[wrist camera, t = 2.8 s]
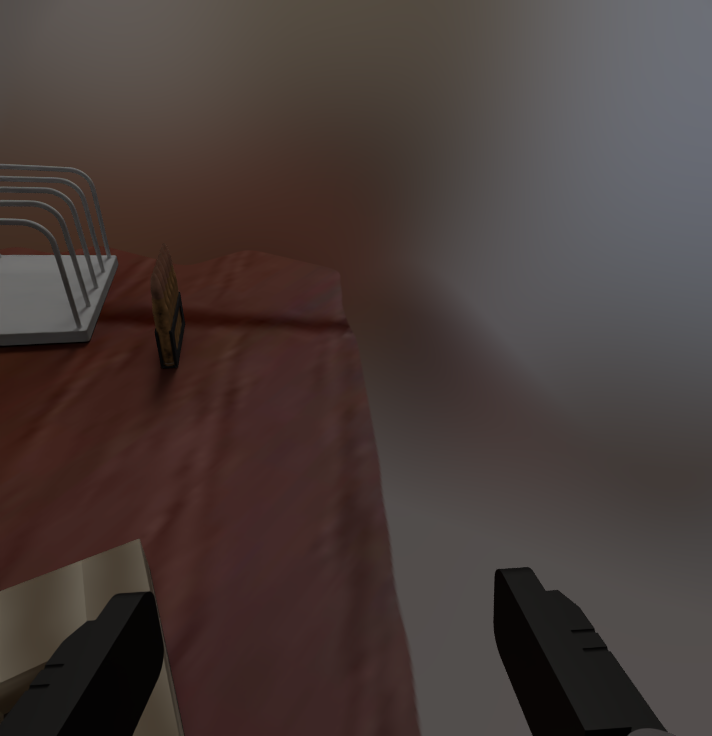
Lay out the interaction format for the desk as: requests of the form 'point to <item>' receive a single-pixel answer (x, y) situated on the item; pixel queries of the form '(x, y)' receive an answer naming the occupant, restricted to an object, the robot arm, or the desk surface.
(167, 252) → the ammunition clip
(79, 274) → the file sorter
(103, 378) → the desk surface
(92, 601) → the socket block
